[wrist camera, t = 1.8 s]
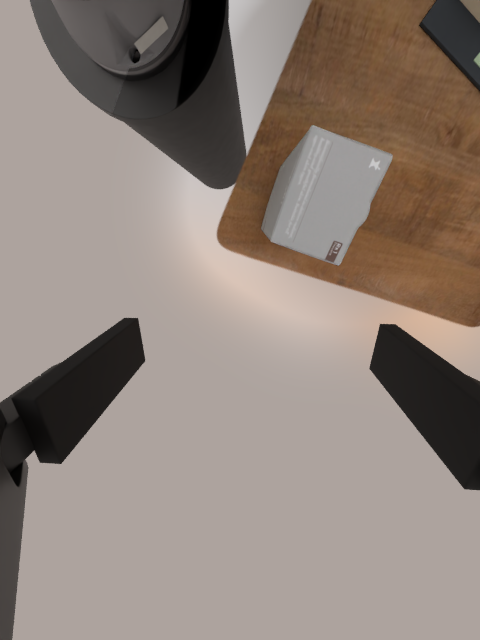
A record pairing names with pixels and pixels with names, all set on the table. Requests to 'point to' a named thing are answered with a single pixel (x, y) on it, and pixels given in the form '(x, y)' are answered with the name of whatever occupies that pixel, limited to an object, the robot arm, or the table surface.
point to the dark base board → (457, 33)
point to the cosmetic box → (323, 194)
